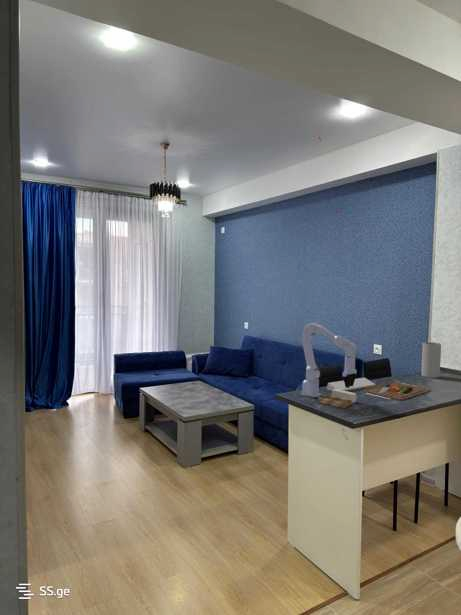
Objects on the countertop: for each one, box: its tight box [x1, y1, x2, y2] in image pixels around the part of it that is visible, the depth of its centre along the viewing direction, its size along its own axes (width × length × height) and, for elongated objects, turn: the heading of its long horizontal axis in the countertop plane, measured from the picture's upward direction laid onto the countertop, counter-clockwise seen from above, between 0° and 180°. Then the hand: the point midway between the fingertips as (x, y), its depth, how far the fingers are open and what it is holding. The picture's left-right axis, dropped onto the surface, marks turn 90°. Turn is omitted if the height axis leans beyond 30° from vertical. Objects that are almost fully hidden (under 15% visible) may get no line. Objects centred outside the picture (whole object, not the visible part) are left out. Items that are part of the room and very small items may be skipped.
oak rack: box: [317, 394, 352, 409], centre depth 232 cm, size 16×9×3 cm, turn 49°
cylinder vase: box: [421, 341, 442, 379], centre depth 307 cm, size 12×12×25 cm
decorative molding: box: [326, 377, 377, 392], centre depth 268 cm, size 34×5×10 cm
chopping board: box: [362, 381, 431, 401], centre depth 262 cm, size 45×27×3 cm, turn 130°
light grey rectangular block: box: [331, 389, 357, 404], centre depth 240 cm, size 14×4×5 cm, turn 42°
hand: (349, 386), depth 237 cm, fingers open, 4 cm apart
